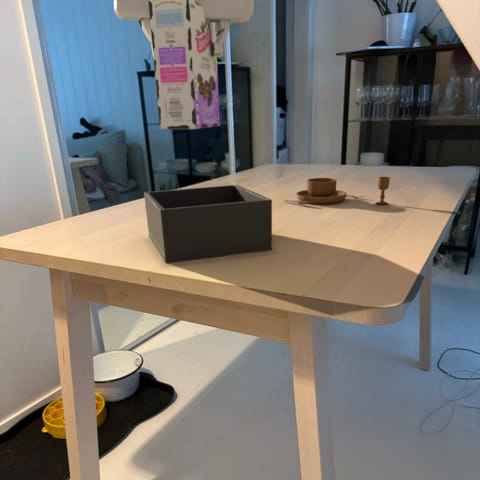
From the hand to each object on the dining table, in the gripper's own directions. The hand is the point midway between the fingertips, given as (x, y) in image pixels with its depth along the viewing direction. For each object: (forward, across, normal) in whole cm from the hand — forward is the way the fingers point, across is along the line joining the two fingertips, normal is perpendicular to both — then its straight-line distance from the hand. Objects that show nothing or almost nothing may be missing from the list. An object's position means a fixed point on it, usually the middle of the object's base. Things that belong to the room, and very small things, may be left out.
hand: (188, 56), depth 70 cm
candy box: (+10, 0, 0) cm, 10 cm away
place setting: (+28, +38, +20) cm, 51 cm away
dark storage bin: (+28, 0, -2) cm, 28 cm away
